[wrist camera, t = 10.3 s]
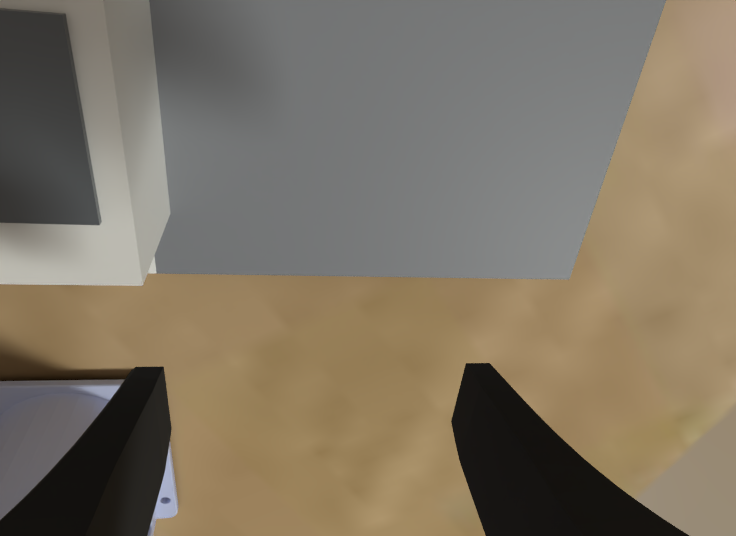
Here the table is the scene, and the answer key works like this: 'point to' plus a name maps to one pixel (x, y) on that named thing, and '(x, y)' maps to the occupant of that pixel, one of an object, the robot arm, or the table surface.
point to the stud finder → (79, 143)
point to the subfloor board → (390, 132)
